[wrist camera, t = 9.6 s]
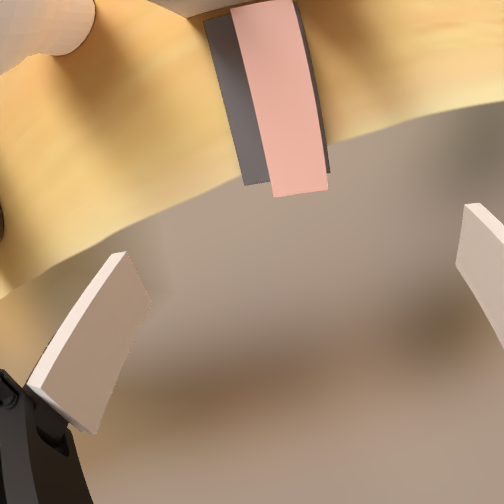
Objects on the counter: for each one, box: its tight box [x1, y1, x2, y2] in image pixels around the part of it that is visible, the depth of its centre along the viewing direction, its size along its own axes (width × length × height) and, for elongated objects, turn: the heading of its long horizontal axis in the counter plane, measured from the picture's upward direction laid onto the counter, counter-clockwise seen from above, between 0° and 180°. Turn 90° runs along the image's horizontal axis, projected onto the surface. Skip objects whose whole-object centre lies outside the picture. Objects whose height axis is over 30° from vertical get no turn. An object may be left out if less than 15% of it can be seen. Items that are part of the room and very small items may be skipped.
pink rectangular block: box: [230, 0, 328, 197], centre depth 20 cm, size 4×14×6 cm, turn 12°
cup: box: [0, 0, 95, 75], centre depth 13 cm, size 11×11×15 cm
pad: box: [203, 2, 330, 185], centre depth 23 cm, size 8×16×1 cm, turn 13°
